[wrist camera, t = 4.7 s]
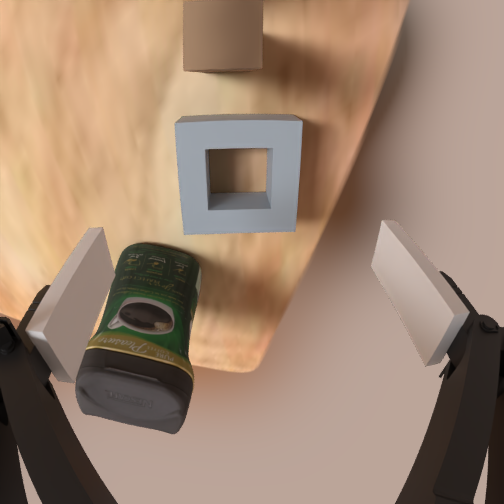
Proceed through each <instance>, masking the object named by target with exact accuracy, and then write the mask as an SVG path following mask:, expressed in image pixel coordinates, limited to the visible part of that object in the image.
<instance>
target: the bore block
mask: <svg viewBox="0 0 504 504" xmlns="http://www.w3.org/2000/svg"><path fill="white" fill-rule="evenodd" d="M302 125H303V121H302V120H300V119H299V118H297V117H296V116H294V115H288V114H219V115H197V116H182V117H181V118H180V119H179V120H178V121H177V122H175V137H176V152H177V165H178V177H179V189H180V200H181V210H182V219H183V229H184V235H192V234H223V233H260V232H295V230H296V217H297V205H298V191H299V176H300V161H301V144H302ZM228 148H267V179H266V192H235V193H211V192H210V171H209V149H228Z"/></svg>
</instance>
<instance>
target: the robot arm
mask: <svg viewBox="0 0 504 504" xmlns="http://www.w3.org/2000/svg"><path fill="white" fill-rule="evenodd" d="M371 268H372V270H373V271H374V273H375V275H376V276H377V278H378V280H379V282H380V283H381V285H382V287H383V288H384V290H385V292H386V294H387V295H388V297H389V299H390V301H391V302H392V304H393V306H394V308H395V310H396V311H397V313H398V315H399V317H400V319H401V320H402V322H403V324H404V326H405V328H406V330H407V332H408V333H409V336H410V337H411V339H412V341H413V343H414V345H415V347H416V349H417V351H418V353H419V355H420V357H421V359H422V361H423V363H424V365H425V367H426V366H430V365H434V364H438V363H440V362H441V361H442V359H443V358H444V356H445V354H446V353H447V354H448V356H449V358H450V360H449V362H448V363H447V365H446V366H445V368H444V369H443V371H442V372H441V374H440V375H439V377H440V378H441V377H442V375H443V374H444V378H443V381H442V385H441V389H440V392H439V395H438V398H437V402H436V405H435V408H434V411H433V414H432V417H431V420H430V423H429V426H428V429H427V432H426V434H425V437H424V440H423V442H422V445H421V448H420V450H419V453H418V455H417V458H416V460H415V463H414V465H413V467H412V469H411V471H410V474H409V476H408V478H407V480H406V483H405V485H404V487H403V489H402V491H401V493H400V495H399V497H398V499H397V501H396V503H395V504H474V503H473V500H474V496H475V493H476V489H477V486H478V483H479V480H480V476H481V472H482V469H483V465H484V461H485V457H486V453H487V449H488V475H487V488H486V499H485V504H504V327H499V325H498V323H497V322H496V321H495V320H494V319H493V318H491V317H489V316H487V315H479V314H478V313H477V312H476V310H475V309H474V307H473V306H472V305H471V303H470V302H469V301H468V299H467V298H466V297H465V295H464V294H462V291H461V290H460V289H459V288H457V285H456V284H455V282H454V281H453V280H452V278H450V277H449V276H448V275H446V274H445V273H444V272H442V271H440V272H439V271H438V270H437V268H436V267H435V266H434V265H433V263H432V262H431V261H430V260H429V259H428V257H427V256H426V255H425V254H424V253H423V251H422V250H421V249H420V248H419V247H418V245H417V244H416V243H415V242H414V241H413V240H412V238H411V237H410V236H409V235H408V234H407V233H406V232H405V230H404V229H403V228H402V227H401V226H400V225H399V224H398V223H397V221H395V220H382V222H381V227H380V231H379V236H378V241H377V245H376V249H375V252H374V256H373V260H372V264H371ZM114 278H115V271H114V268H113V264H112V260H111V257H110V253H109V249H108V245H107V241H106V237H105V233H104V229H103V227H98V228H89V229H88V230H87V232H86V233H85V234H84V236H83V237H82V239H81V240H80V242H79V243H78V244H77V246H76V247H75V249H74V250H73V252H72V253H71V255H70V256H69V258H68V259H67V261H66V262H65V264H64V265H63V267H62V268H61V270H60V271H59V273H58V275H57V276H56V278H55V279H54V281H53V283H52V284H51V285H46V286H45V287H44V288H43V289H42V290H40V291H39V292H38V293H37V295H36V297H35V298H34V300H33V303H31V305H30V307H29V308H28V311H27V312H26V314H25V315H24V317H23V319H22V321H21V322H20V324H19V326H18V328H17V330H16V329H15V328H14V326H13V324H12V323H11V321H10V319H9V318H7V317H0V504H28V502H27V498H26V493H25V489H24V484H23V479H22V474H21V468H20V462H19V455H18V448H19V451H20V453H21V456H22V459H23V461H24V464H25V466H26V469H27V471H28V473H29V476H30V478H31V481H32V482H33V485H34V487H35V489H36V491H37V494H38V496H39V498H40V500H41V502H42V504H118V503H117V502H116V500H115V499H114V497H113V496H112V495H111V493H110V492H109V490H108V489H107V487H106V486H105V484H104V483H103V481H102V480H101V478H100V476H99V475H98V473H97V472H96V470H95V468H94V467H93V465H92V463H91V462H90V460H89V458H88V457H87V455H86V453H85V451H84V450H83V448H82V446H81V444H80V442H79V440H78V438H77V437H76V435H75V433H74V431H73V429H72V427H71V425H70V423H69V421H68V419H67V417H66V415H65V413H64V410H63V408H62V406H61V404H60V402H59V399H58V397H57V395H56V393H55V390H54V388H53V385H52V384H51V382H50V381H49V376H50V374H51V372H52V373H53V375H54V376H55V377H56V379H57V380H58V381H62V382H69V383H74V382H75V380H76V376H77V373H78V370H79V367H80V365H81V362H82V359H83V356H84V353H85V350H86V347H87V345H88V342H89V339H90V337H91V334H92V331H93V329H94V326H95V323H96V321H97V318H98V316H99V313H100V311H101V308H102V306H103V303H104V301H105V299H106V296H107V294H108V292H109V289H110V287H111V285H112V282H113V280H114ZM17 445H18V448H17ZM488 447H489V448H488Z"/></svg>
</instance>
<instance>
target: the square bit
mask: <svg viewBox="0 0 504 504" xmlns="http://www.w3.org/2000/svg"><path fill="white" fill-rule="evenodd" d="M262 61H263V0H197V1H185V2H183V68H184V71H190V72H202V73H205V72H233V71H253V70H258V69H262Z"/></svg>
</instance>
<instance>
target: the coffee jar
mask: <svg viewBox="0 0 504 504" xmlns="http://www.w3.org/2000/svg"><path fill="white" fill-rule="evenodd" d="M201 277H202V272H201V268H200V265H199V264H198V262H197V261H196V260H195V259H194V258H193V257H191V256H189V255H187V254H185V253H182V252H179V251H176V250H173V249H169V248H165V247H160V246H155V245H149V244H133V245H130V246H128V247H127V248H126V249H124V251H123V252H122V254H121V256H120V258H119V260H118V263H117V266H116V269H115V278H114V280H113V282H112V285H111V288H110V292H109V296H108V300H107V304H106V307H105V311H104V314H103V317H102V320H101V323H100V325H99V328H98V330H97V332H96V334H95V335H94V336H93V337H92V338H91V339H90V340H89V342H88V345H87V347H86V350H85V353H84V356H83V359H82V362H81V365H80V367H79V370H78V373H77V376H76V386H75V391H76V398H77V401H78V404H79V407H80V409H81V411H82V412H83V413H84V414H86V415H92V416H98V417H102V418H105V419H109V420H113V421H117V422H121V423H125V424H129V425H134V426H139V427H144V428H149V429H155V430H159V431H163V432H167V433H170V434H175V433H177V432H178V431H179V430H180V428H181V427H182V425H183V423H184V421H185V418H186V415H187V411H188V408H189V403H190V399H191V395H192V392H193V389H194V374H193V369H192V366H191V363H190V361H189V357H188V352H189V340H190V334H191V328H192V323H193V319H194V315H195V311H196V306H197V302H198V297H199V293H200V287H201Z"/></svg>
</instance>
